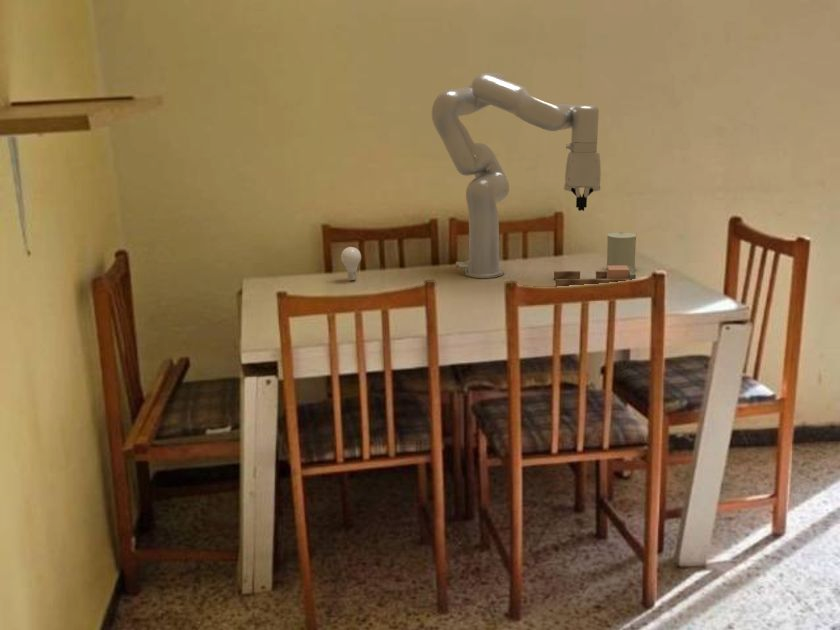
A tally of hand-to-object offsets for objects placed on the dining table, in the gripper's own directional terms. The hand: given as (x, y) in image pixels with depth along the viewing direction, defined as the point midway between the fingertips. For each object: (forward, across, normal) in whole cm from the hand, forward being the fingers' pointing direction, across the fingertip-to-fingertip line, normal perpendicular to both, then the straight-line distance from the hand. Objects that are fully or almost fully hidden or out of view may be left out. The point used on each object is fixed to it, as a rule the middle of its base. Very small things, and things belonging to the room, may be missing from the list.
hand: (581, 209), depth 268 cm
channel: (+23, +4, 0) cm, 23 cm away
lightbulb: (+25, -71, +5) cm, 75 cm away
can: (+23, +15, +18) cm, 32 cm away
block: (+22, +12, 0) cm, 26 cm away
